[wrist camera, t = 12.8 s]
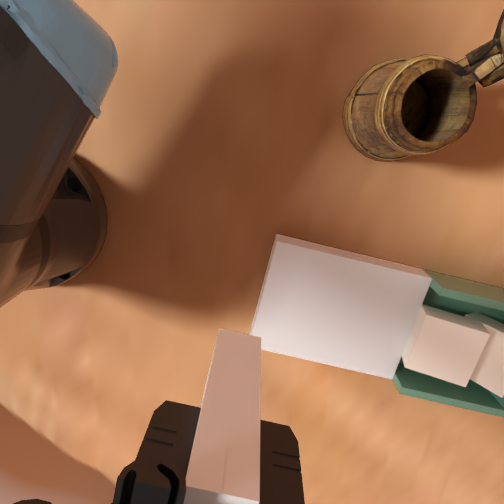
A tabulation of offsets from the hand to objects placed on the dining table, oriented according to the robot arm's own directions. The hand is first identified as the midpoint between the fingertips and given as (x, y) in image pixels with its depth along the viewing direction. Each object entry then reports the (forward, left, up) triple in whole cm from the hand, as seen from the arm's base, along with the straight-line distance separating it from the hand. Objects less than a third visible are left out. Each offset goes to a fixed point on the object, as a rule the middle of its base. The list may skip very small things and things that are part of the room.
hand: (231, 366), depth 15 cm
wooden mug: (+12, +14, -30) cm, 35 cm away
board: (+11, -8, -29) cm, 32 cm away
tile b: (+26, -8, -25) cm, 37 cm away
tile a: (+22, -8, -26) cm, 35 cm away
